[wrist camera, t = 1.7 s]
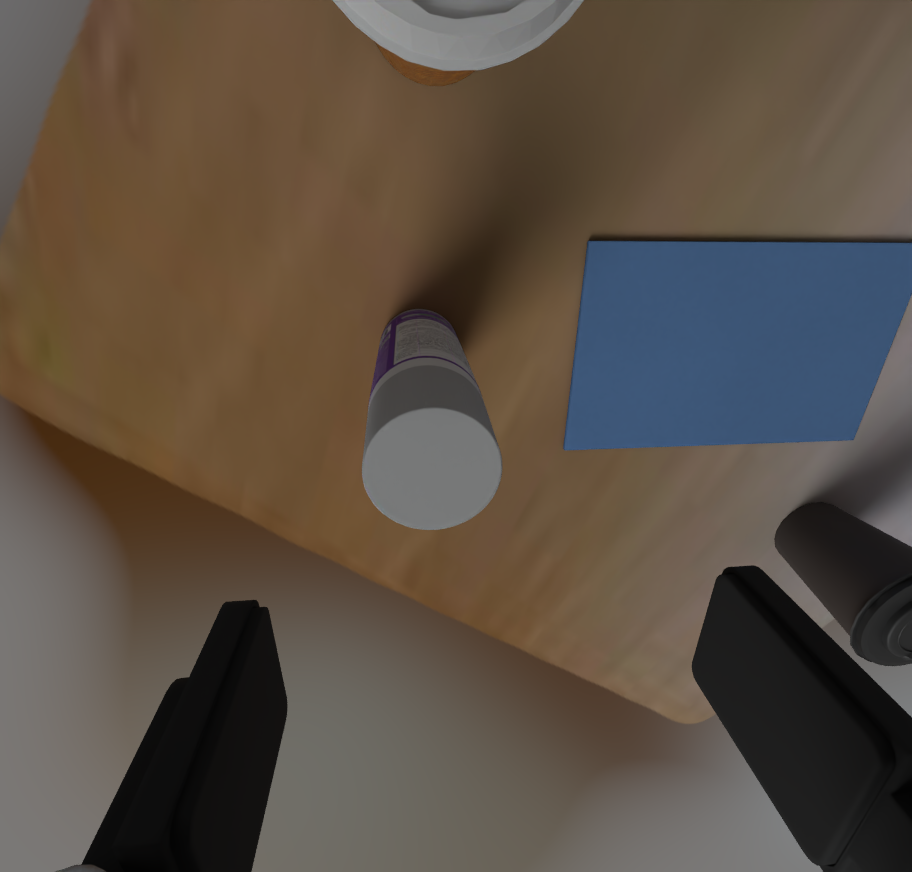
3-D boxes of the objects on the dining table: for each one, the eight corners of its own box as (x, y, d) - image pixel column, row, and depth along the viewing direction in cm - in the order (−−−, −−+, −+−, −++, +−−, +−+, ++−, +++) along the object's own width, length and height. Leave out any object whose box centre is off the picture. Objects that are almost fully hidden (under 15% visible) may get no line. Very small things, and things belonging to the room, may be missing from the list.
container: (415, 400, 30) (424, 556, 17) (362, 343, 28) (325, 467, 15) (474, 353, 29) (534, 477, 16) (423, 291, 27) (443, 371, 14)
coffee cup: (770, 586, 40) (876, 696, 31) (745, 519, 37) (856, 620, 28) (866, 542, 39) (1004, 642, 30) (849, 468, 36) (1000, 555, 27)
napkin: (587, 240, 27) (589, 240, 27) (927, 242, 29) (932, 242, 29) (563, 448, 33) (564, 450, 32) (850, 438, 35) (853, 440, 34)
